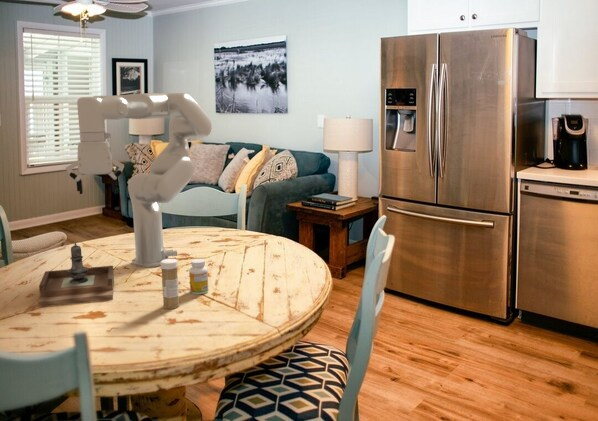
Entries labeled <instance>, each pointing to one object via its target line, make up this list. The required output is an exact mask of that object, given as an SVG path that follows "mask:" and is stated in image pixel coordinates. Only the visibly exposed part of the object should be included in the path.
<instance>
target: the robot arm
mask: <svg viewBox="0 0 598 421" xmlns="http://www.w3.org/2000/svg"><path fill="white" fill-rule="evenodd" d="M76 104H77V119H78V128H79V138H80V139H79V140H80V141H79V142H78V143H77V153H76V154H77V161H75V162H72V163H71V164H69V165H68V166H66V167H65V171H66V172H67V173H68V175H69V176H70V177H71V178H72V179H73V180H74V181H75V182H76V191H77V192H79V195H82V194H83V192H84V191H83V180H82V178H83V176H91V175H93V176H94V175H108V176H110V178H111V180H110V181H111V182H110V183H111V192H112V193H115V190H117V189H118V184H117V179H118V178H119V177H120V175H121V174H122V173H123V171H124V168H125V164H124V163H122V162H120V161H117V160H114V159H113V156H112V149H111V146H110V142H109V141H107V140H108V139H109V138H110V139H111V137H112V136H111V133H109V132H106V122H105V120H107V121H118V120H119V121H121V120H123V119H130V120H149V119H150V120H151V119H163V118H164V119H165V118H171V119H170V120H169V125H168V134H169V139H168V140H169V142H168V143H167V145H166V146H165V148H164V149H163V150H162V151H161V152H160V153H159V154H158V155H157V156H156V157H155V158H154V159H153V160H152V161H151V164H150V166H149V173H148V172H141V173H140V172H139V173H137V174H134V175H133V176H132V177H131V178H130V179H129V181H128V187H127V190H128V194H129V198H130V202H131V206H132V216H133V231H134V232H133V234H134V247H135V257H134V258H133V259H131V264H132V265H133V266H134V267H139V268H155V267H159V266H160V267H161V261H162V260H165V259H170V258H169V257H177V256H178V250H173V249H169V250H167V249H165V246H164V235H163V234H164V233H163V219H162V218H163V217H162V210H161V207H160V205H159V203H160V204H168V203H171V202H172V201H173V200H174V199H175V198H177V196H178V195H179V194H180V193H181V192H182V191H183V189H184V188H185V187H186V186H187V185H188V183H190V181H191V179H192V178H193V175H194V170H195V166H194V162H193V160H192V159H191V158H189V157H190V156H189V155H190V147H189V142H188V141H189V140H188V139H204V138H207V137H208V136H210V134H211V132H212V128H213V127H212V126H213V125H212V122H211V119H210V117H209V116H208V114H207V113H206V112H205V111H204V109H203V108H202V107H201V106H200V104H199V103H198V102H197V101H196V99H195V98H193V97H192V96H191V95H190V94H188V93H185V92H152V93H150V92H149V93H131V94H122V95H121V94H118V95H94V96H84V97H80V98H78V99H77V101H76ZM113 166H116V167H118V170H117V171H116V172H114V171H113ZM74 168H77V170H78V174H76V173H75V172H74V171H73V169H74Z"/></svg>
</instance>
